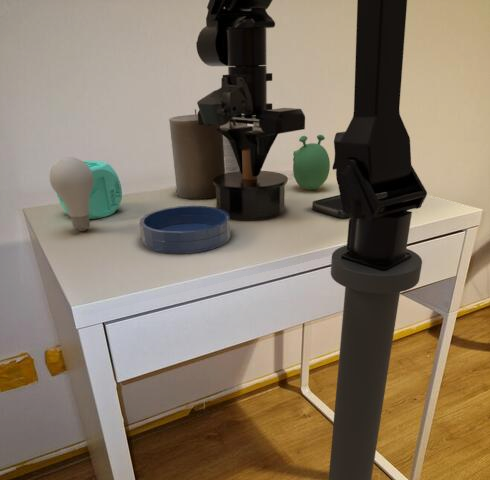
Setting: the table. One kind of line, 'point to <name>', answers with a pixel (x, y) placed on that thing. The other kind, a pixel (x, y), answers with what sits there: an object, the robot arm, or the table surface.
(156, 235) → the pan
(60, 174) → the lightbulb
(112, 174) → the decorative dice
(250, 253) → the table surface
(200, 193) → the pillar candle
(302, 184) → the alien toy
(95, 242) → the table surface
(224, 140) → the energy drink
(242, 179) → the lid
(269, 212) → the tin
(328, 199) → the phone
